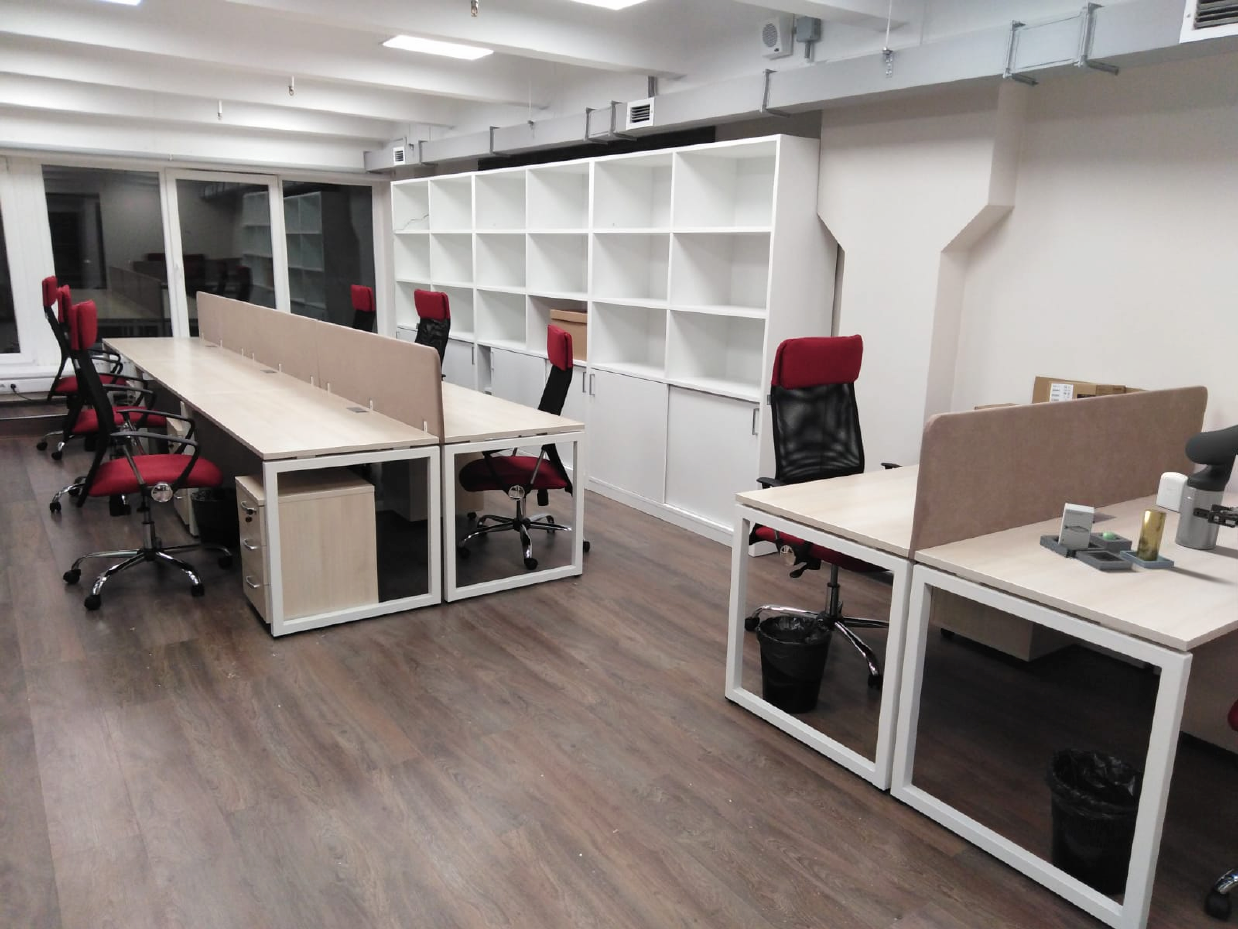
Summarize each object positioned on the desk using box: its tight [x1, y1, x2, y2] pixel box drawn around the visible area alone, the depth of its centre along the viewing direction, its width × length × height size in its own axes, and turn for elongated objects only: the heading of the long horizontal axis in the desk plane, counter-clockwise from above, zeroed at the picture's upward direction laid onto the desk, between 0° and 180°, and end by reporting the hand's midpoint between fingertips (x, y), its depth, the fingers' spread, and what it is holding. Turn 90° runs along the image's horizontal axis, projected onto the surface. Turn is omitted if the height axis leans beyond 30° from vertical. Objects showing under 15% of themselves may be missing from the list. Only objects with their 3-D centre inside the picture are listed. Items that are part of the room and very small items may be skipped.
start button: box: [1102, 531, 1118, 539], centre depth 244 cm, size 3×3×3 cm
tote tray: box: [1118, 550, 1175, 569], centre depth 234 cm, size 9×9×2 cm
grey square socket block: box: [1089, 531, 1133, 553], centre depth 245 cm, size 8×8×4 cm
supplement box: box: [1058, 502, 1095, 548], centre depth 240 cm, size 7×7×13 cm
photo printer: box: [1155, 471, 1189, 513], centre depth 290 cm, size 10×4×12 cm, turn 13°
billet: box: [1136, 508, 1167, 561], centre depth 232 cm, size 5×5×14 cm
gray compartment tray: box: [1039, 534, 1134, 572], centre depth 237 cm, size 12×23×2 cm, turn 10°
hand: (1203, 509), depth 220 cm, fingers open, 8 cm apart
